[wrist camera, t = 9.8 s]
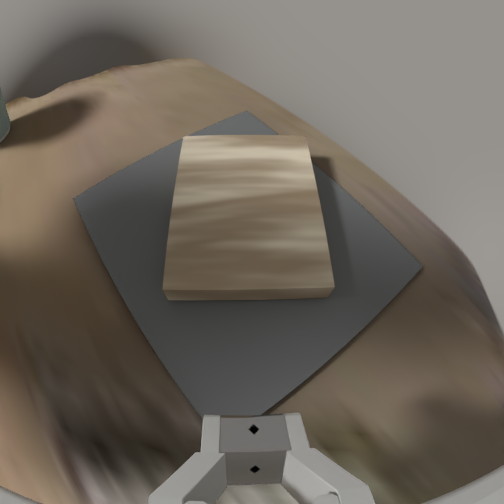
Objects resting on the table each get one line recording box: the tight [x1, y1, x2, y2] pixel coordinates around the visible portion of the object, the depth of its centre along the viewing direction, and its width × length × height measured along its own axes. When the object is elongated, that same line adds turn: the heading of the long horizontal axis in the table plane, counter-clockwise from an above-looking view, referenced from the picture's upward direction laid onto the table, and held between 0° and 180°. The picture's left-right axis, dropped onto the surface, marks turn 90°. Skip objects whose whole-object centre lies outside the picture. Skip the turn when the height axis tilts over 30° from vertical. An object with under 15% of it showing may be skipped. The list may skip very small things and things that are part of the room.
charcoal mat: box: [73, 111, 423, 419], centre depth 27 cm, size 22×26×1 cm
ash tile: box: [162, 135, 335, 300], centre depth 27 cm, size 2×12×16 cm
